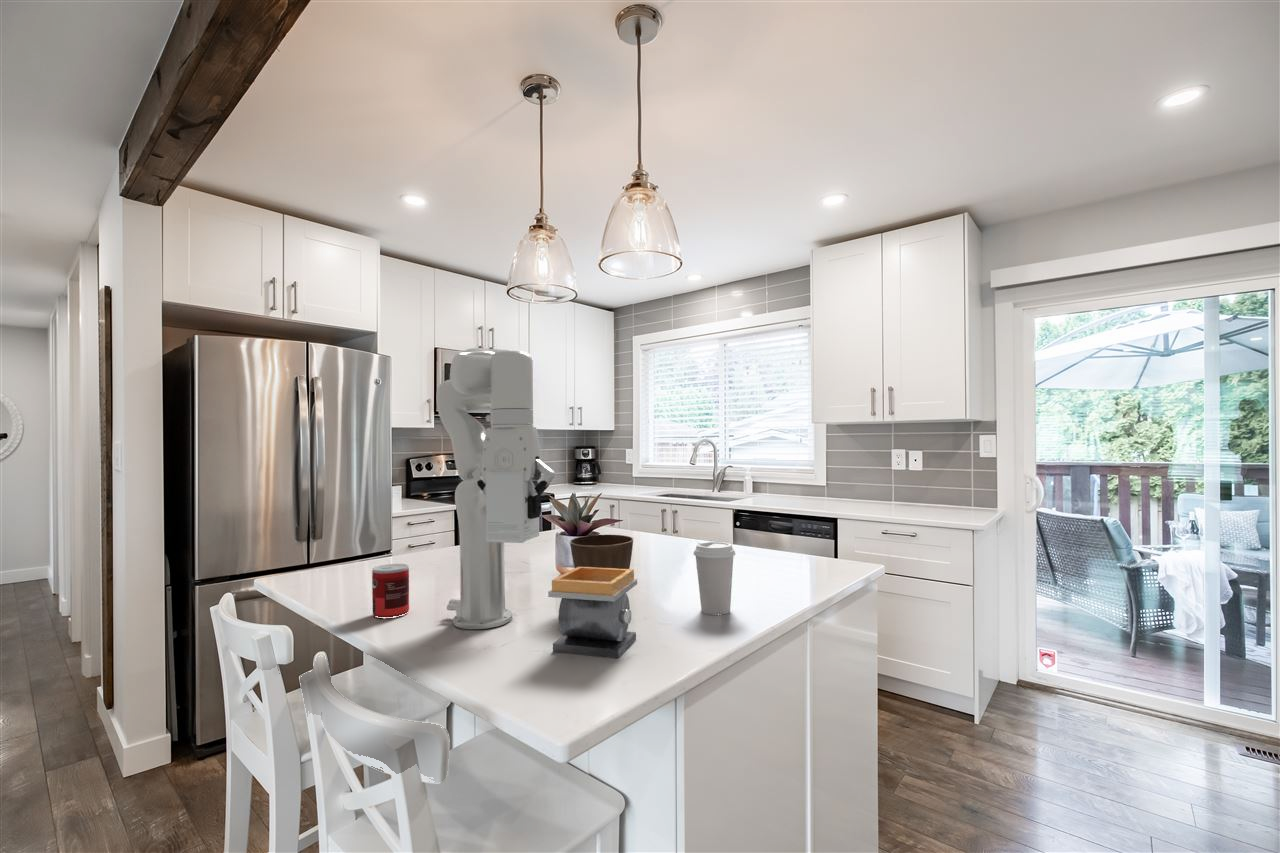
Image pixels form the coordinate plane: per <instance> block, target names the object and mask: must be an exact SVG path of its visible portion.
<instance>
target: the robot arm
mask: <svg viewBox="0 0 1280 853" xmlns="http://www.w3.org/2000/svg"><path fill="white" fill-rule="evenodd" d="M450 364H451V365H450V369H449V371H450V372H449V374H450V376H449V377H450V379H447V380H445V381H443V382H441V383H440V384H439V385H438V387H437V389H436V407H437V411H438V415H439V419H440V421H441V423H442V425H443V427H444V429H445V430H446V432H447V434H448V435H449V438H450V441H451V446H452V452H453V453H452V454H453V458H454V464H455V468H456V472H457V474H458V477H459V478H460V479H461V480H462V481H461V482H459V483H458V485H457V486H456V488H455V492H454V504H455V507H456V514H457V520H458V531H459V571H460V572H459V581H460V582H459V583H460V585H459V586H460V587H459V588H460V591H459V592H460V593H459V594H460V599H457V598H456V599H454V598H452V599H450V600H448V604H447V605H446V610H447V611H455V613H456V614H455V615H454V617H453V620H452V622H453V623H452V624H453V626H455V627H457V628H459V629H463V630H485V629H492V628H496V627H501V626H503V625H506V624H507V623H509V622H511V620H513V612H512V611H511V610H509V609H506V576H505V574H506V572H505V570H506V569H505V542H486V471H492V470H520V471H524V482H528V490H529V492H530V495H531V496H528V518H529V519H534V518H538V517H539V518H540V517H541V512H542V495H543V494H544V493H545V491H546V490H547V489H548V487H549V486H550V485H551V484H550V483H552V481H553V479H554V478H555V476H556V472H555V471H554V470H553V469H552V468H550V467H549V466H548V465H547V464H545V463H544V462H543V461H542V453H541V452H542V451H541V445H540V444H541V443H540V438H539V434H538V429H537V427H534V388H533V386H534V383H533V380H534V378H533V372H534V371H533V359H532V357H531V355H530V354H529V353H528V352H525V351H519V350H508V349H497V348H496V349H494V348H478V347H477V348H476V347H475V348H474V347H472V348H468V349H465V350H463V351H462V352H457V353H456V354H455V355H454V356H453V358H452V361H451V363H450ZM469 413H470V414H469ZM471 413H473V414H475V413H476V414H477V413H478V414H479V413H480V414H481V413H482V414H485V413H487V415H485V421H486V422H487V423H488V422H489V423H490V427H487V428H485V427H484V425H483V424H482V423H481V422H480V421H479V420H478V419H476V418H475V417H473V416H472V415H471ZM488 413H489V414H488ZM534 473H535V474H534ZM542 474H543V477H542ZM541 477H542V479H541ZM540 479H541V480H540ZM538 480H539V481H538Z"/></svg>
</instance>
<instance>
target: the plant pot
mask: <svg viewBox="0 0 1280 853" xmlns="http://www.w3.org/2000/svg"><path fill="white" fill-rule="evenodd" d="M569 543H570V550H571V557H572V562H573V567H574V569H575V568H577V567H596V568H616V569H631V568H630V566H631V561H632V553H633V546H634V545H633V544H634V537H631V536H628V535H625V534H624V535H623V534H592V535H585V536H578V537H574V538H572V539H571V540H570V541H569Z"/></svg>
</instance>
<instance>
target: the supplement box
mask: <svg viewBox="0 0 1280 853" xmlns="http://www.w3.org/2000/svg"><path fill="white" fill-rule="evenodd" d="M534 474H535V473H534ZM538 481H539V482H540V479H539V480H538ZM528 496H531V495H530V492H529V490H528V482H524V471H520V470H492V471H486V542H504V543H509V544H510V543H511V544H513V543H517V544H524V543H525V542H527V541H529V540H531V539H534V538H536V537H539V536H540V517H538V518H534V519H529V518H528Z"/></svg>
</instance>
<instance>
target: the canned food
mask: <svg viewBox="0 0 1280 853" xmlns="http://www.w3.org/2000/svg"><path fill="white" fill-rule="evenodd" d="M371 577H372V578H371V580H372V581H371V584H372V585H371V586H372V588H371V590H372V592H371V593H372V596H371V597H372V615H373V617H374V616H378V617H393V616H399V615H402V614H405V613H407V612H408V613H409V610H410V567H409V565H408V564H406V563H387V564H381V565H377V566H374V567H373V568H372V571H371ZM408 613H407V614H408Z"/></svg>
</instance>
